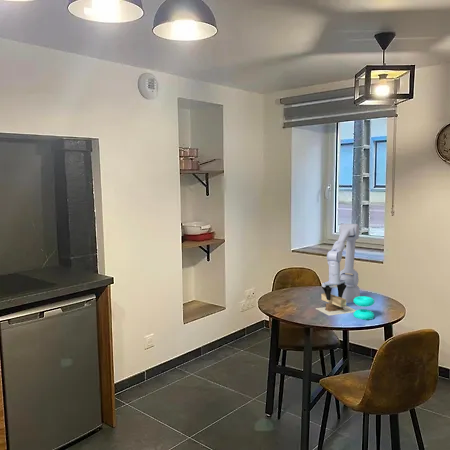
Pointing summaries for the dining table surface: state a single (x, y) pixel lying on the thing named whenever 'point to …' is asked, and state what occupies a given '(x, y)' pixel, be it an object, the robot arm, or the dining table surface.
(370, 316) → the donuts
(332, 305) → the block
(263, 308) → the dining table surface
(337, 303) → the bar
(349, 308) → the board
